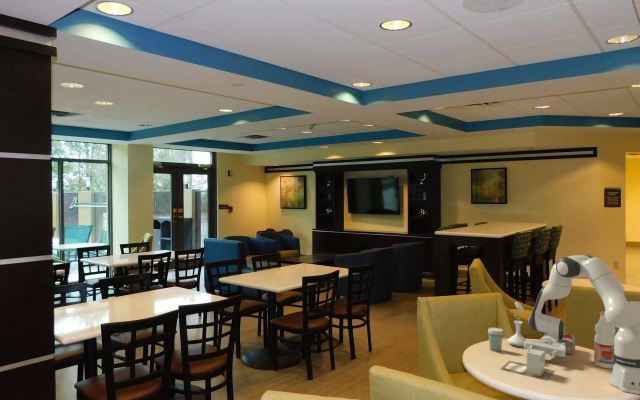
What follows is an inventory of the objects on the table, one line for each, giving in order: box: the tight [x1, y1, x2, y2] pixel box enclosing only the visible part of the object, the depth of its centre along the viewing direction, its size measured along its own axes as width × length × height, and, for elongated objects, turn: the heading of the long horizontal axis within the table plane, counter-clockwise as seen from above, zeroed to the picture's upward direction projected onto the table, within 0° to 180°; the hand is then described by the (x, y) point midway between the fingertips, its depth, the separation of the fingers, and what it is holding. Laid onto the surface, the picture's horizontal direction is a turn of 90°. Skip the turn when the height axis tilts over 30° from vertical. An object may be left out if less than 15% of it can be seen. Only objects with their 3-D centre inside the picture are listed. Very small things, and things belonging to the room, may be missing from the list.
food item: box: [561, 333, 576, 356], centre depth 262 cm, size 14×8×10 cm, turn 149°
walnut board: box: [499, 360, 555, 382], centre depth 231 cm, size 22×16×1 cm
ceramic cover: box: [526, 349, 546, 376], centre depth 228 cm, size 6×8×10 cm
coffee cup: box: [487, 327, 505, 353], centre depth 263 cm, size 8×8×12 cm
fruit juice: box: [593, 310, 616, 369], centre depth 241 cm, size 9×9×28 cm
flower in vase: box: [507, 301, 528, 347], centre depth 274 cm, size 13×11×25 cm
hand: (541, 352), depth 239 cm, fingers open, 8 cm apart
